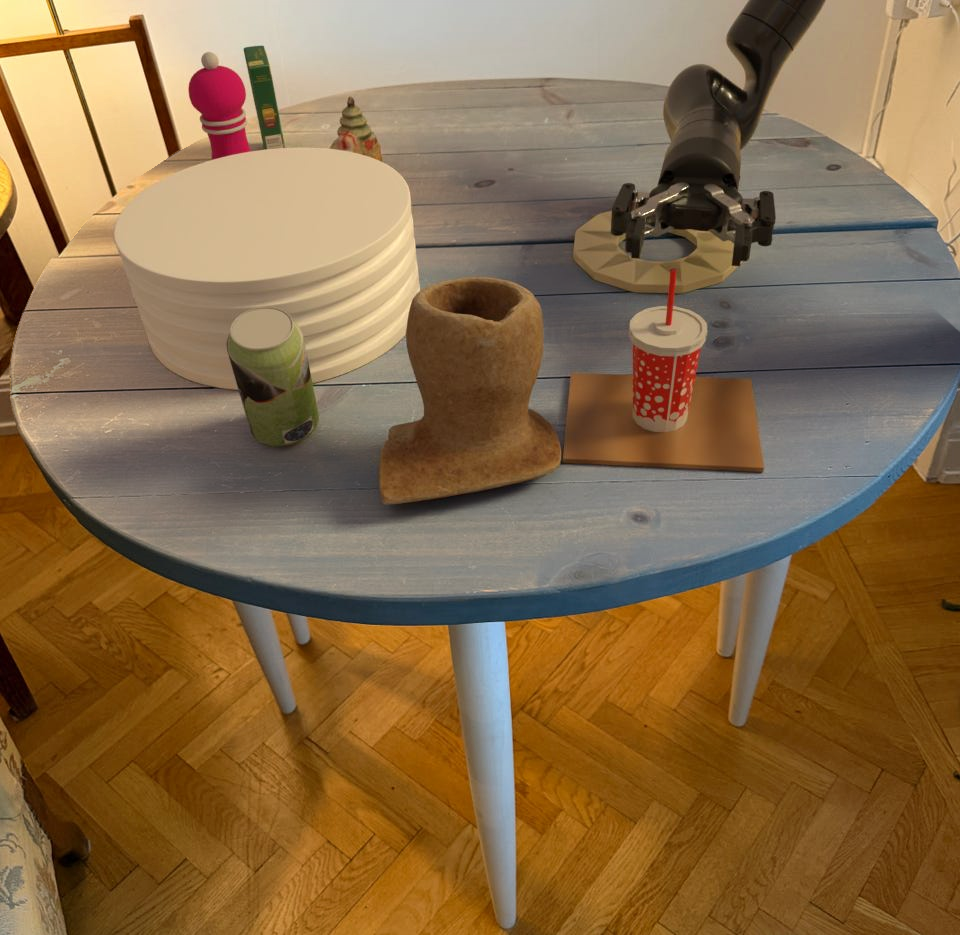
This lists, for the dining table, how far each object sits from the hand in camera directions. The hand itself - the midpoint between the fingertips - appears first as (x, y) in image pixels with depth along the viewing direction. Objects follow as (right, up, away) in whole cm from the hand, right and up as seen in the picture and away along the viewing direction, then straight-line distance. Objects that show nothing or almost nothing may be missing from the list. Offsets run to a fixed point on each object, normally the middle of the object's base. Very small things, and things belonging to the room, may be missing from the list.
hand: (686, 252), depth 79 cm
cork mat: (-2, -14, 0) cm, 15 cm away
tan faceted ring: (+2, +5, +22) cm, 23 cm away
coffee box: (-45, +24, +48) cm, 70 cm away
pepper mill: (-45, +10, +32) cm, 56 cm away
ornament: (-34, +19, +41) cm, 56 cm away
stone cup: (-19, -18, -2) cm, 26 cm away
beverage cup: (-2, -14, 0) cm, 14 cm away
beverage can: (-34, -16, +2) cm, 38 cm away
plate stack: (-38, -2, +17) cm, 41 cm away
